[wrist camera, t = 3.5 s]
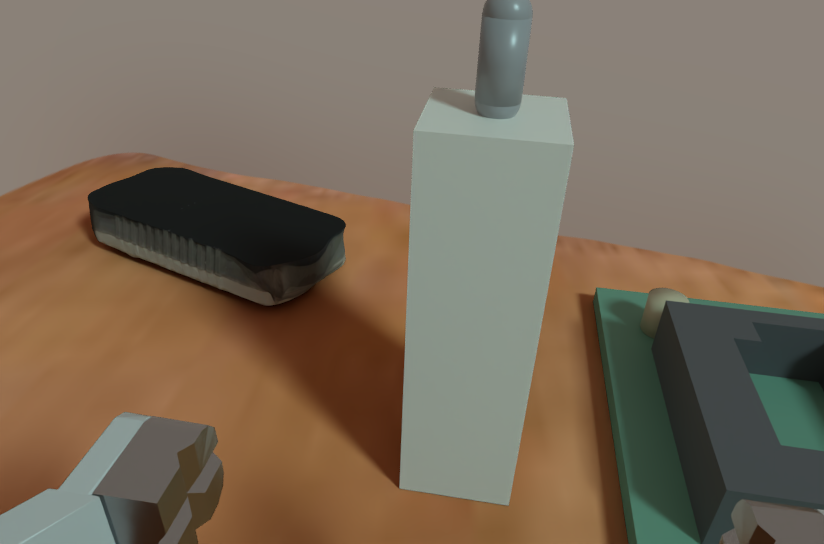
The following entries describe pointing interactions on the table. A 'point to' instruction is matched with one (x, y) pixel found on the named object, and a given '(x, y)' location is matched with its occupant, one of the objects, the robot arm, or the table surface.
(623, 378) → the board
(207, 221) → the black scrub brush
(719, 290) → the table surface
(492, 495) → the plug
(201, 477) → the robot arm
